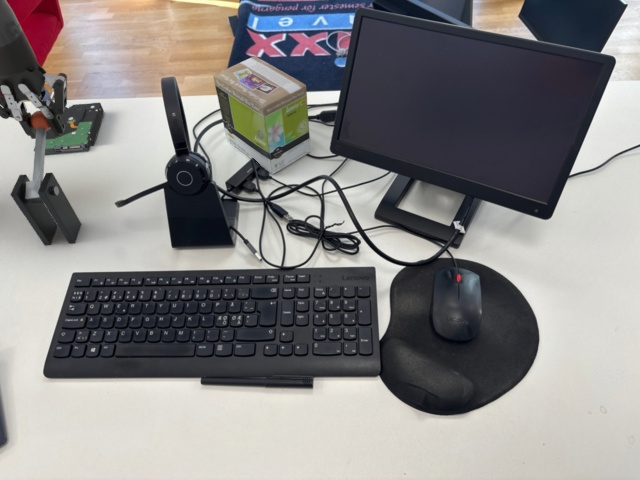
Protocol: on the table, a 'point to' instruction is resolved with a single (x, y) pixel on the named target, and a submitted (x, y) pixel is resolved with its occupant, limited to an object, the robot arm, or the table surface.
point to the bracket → (41, 215)
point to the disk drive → (76, 129)
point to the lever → (37, 157)
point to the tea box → (264, 113)
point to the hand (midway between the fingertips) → (48, 134)
